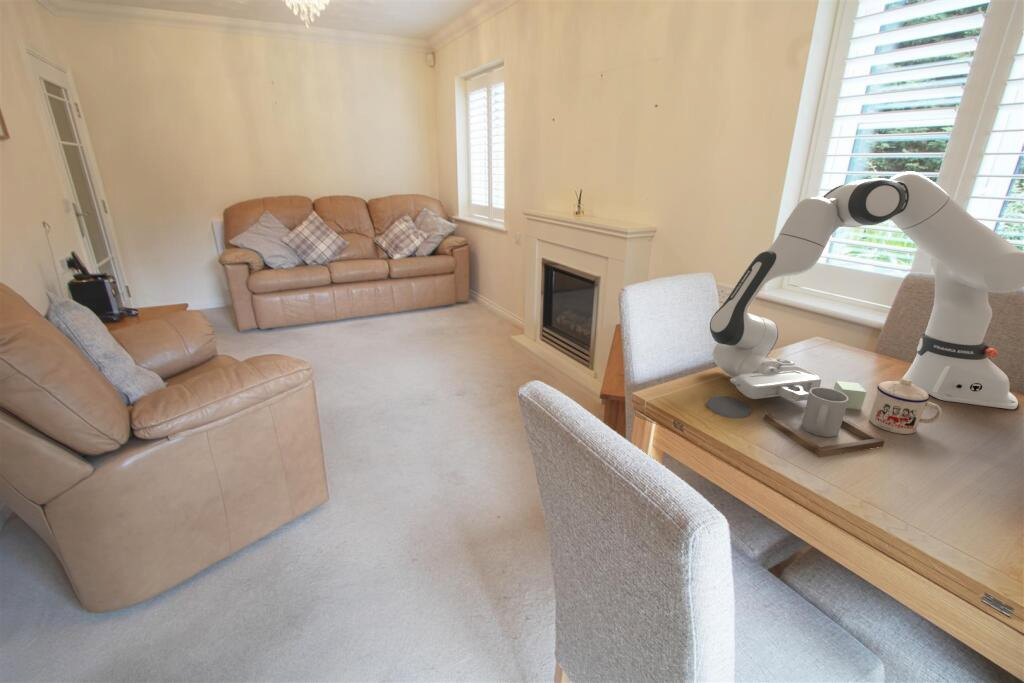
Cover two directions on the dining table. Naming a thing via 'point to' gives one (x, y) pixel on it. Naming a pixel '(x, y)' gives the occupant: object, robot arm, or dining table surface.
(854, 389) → the sage box
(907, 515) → the dining table surface
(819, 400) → the cup
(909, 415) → the teacup with lid
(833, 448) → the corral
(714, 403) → the slate coaster
